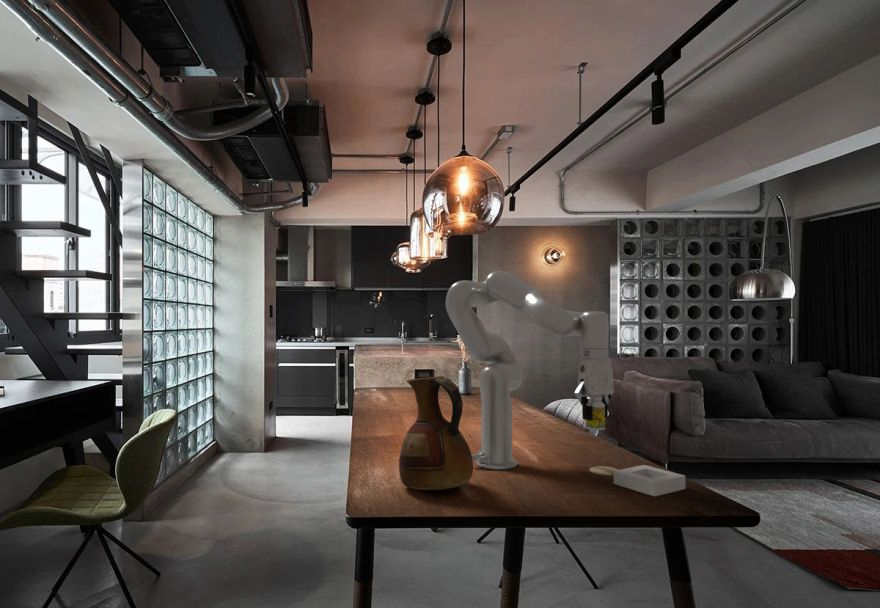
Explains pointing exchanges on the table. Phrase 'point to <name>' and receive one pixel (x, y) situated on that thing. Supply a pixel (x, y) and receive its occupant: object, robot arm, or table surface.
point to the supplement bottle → (596, 415)
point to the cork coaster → (603, 470)
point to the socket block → (649, 480)
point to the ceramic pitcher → (435, 441)
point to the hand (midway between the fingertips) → (595, 418)
